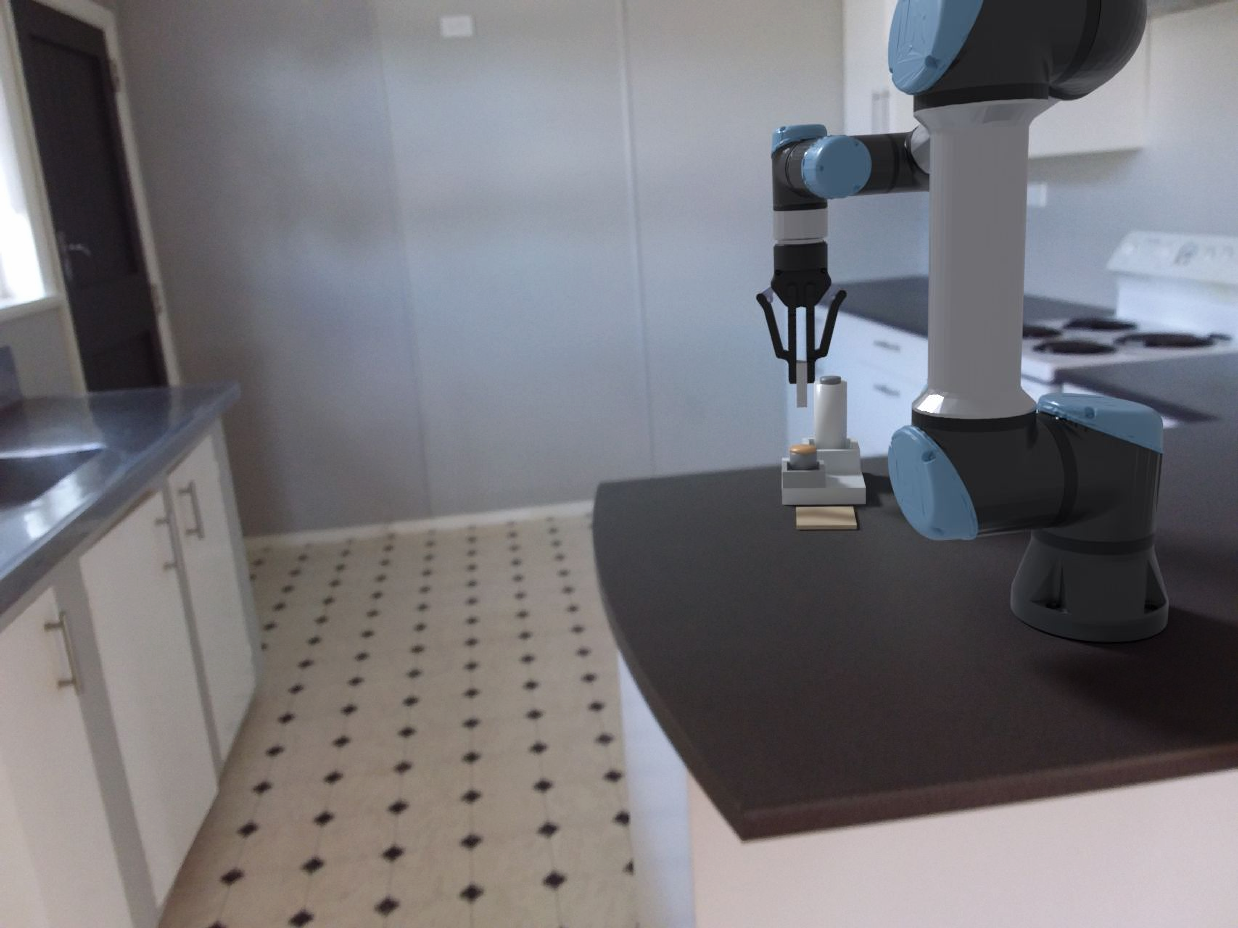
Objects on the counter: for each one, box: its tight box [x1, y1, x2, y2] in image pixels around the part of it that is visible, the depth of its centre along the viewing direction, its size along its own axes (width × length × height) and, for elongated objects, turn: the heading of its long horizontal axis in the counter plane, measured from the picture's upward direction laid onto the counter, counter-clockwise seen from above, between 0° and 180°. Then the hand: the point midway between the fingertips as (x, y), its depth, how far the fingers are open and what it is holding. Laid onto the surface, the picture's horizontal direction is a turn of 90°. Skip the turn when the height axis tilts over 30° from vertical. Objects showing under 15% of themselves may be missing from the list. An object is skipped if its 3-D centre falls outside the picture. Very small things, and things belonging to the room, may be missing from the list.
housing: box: [781, 436, 867, 506], centre depth 154 cm, size 17×12×6 cm
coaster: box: [795, 506, 858, 531], centre depth 140 cm, size 8×8×1 cm
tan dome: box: [788, 443, 817, 471], centre depth 149 cm, size 4×4×3 cm
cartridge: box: [813, 375, 848, 450], centre depth 156 cm, size 5×5×14 cm
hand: (801, 405), depth 147 cm, fingers closed
